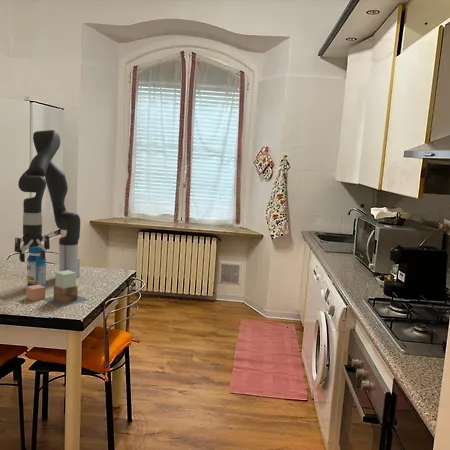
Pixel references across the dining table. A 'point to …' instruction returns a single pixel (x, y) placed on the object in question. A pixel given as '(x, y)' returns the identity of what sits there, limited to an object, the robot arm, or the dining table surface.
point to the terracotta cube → (35, 292)
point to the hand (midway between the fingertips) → (32, 260)
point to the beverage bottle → (36, 268)
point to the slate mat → (60, 304)
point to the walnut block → (65, 294)
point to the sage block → (65, 279)
